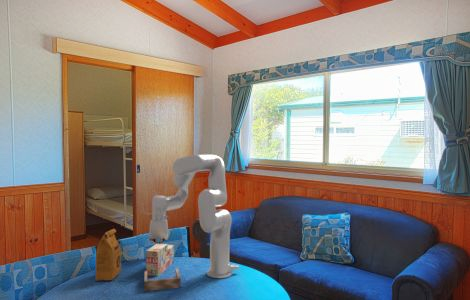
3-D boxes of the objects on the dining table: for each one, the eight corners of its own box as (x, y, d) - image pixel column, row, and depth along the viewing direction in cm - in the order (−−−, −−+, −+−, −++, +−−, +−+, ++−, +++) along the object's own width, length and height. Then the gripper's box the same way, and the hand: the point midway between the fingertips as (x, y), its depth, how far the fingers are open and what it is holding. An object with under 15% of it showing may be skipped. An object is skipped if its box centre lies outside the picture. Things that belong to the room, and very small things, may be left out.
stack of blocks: (163, 261, 183) (163, 238, 183) (174, 262, 182) (174, 239, 182) (145, 275, 162) (145, 250, 162) (157, 276, 161) (158, 251, 161)
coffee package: (124, 272, 165) (125, 228, 165) (112, 282, 152) (113, 234, 152) (105, 271, 166) (105, 227, 166) (91, 281, 153) (92, 233, 153)
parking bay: (177, 276, 160) (177, 268, 160) (180, 287, 148) (180, 278, 148) (144, 279, 156) (144, 271, 156) (144, 290, 144) (144, 281, 144)
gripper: (172, 215, 194) (171, 247, 194) (145, 216, 190) (144, 249, 190) (173, 218, 187) (172, 251, 187) (145, 219, 183) (144, 253, 183)
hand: (158, 250), depth 188 cm, fingers closed
